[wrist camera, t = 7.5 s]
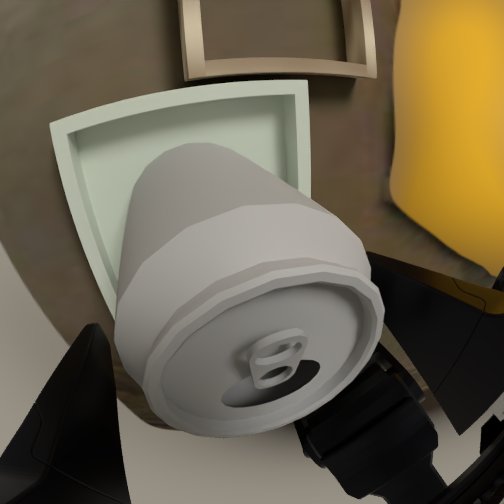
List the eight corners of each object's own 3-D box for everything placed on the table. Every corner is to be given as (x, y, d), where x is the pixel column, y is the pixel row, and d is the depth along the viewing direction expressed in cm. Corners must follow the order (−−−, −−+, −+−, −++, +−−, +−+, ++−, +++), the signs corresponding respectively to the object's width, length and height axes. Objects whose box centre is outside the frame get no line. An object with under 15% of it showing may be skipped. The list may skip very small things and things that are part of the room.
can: (148, 275, 17) (175, 467, 7) (116, 157, 13) (39, 305, 3) (262, 247, 19) (374, 397, 9) (253, 130, 15) (437, 205, 5)
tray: (295, 266, 21) (308, 282, 20) (121, 311, 18) (120, 331, 17) (289, 81, 15) (307, 80, 13) (61, 120, 12) (49, 123, 10)
